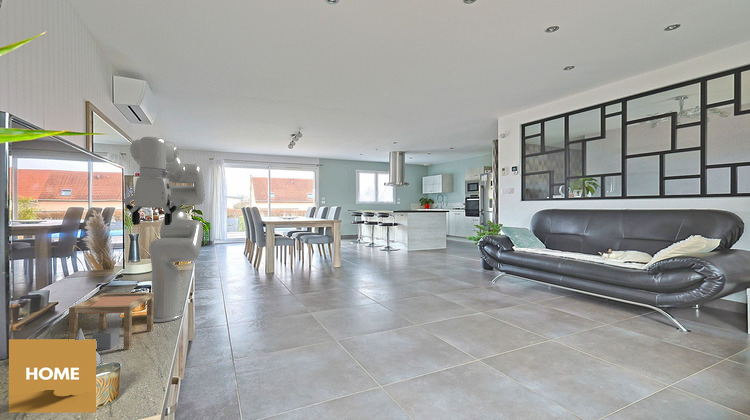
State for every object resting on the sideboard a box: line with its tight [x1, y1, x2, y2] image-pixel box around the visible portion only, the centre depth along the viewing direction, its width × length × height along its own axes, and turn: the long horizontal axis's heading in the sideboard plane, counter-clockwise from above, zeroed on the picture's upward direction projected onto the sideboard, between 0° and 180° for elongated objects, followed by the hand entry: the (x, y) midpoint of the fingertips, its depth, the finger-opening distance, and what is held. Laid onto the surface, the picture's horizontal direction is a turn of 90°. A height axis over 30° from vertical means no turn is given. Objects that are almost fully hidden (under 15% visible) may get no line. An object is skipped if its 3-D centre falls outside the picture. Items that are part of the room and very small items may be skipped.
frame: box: [68, 292, 154, 351], centre depth 113 cm, size 16×16×14 cm
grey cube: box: [92, 327, 121, 351], centre depth 109 cm, size 5×5×5 cm
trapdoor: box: [82, 296, 142, 315], centre depth 114 cm, size 12×13×1 cm
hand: (152, 224), depth 117 cm, fingers open, 9 cm apart
